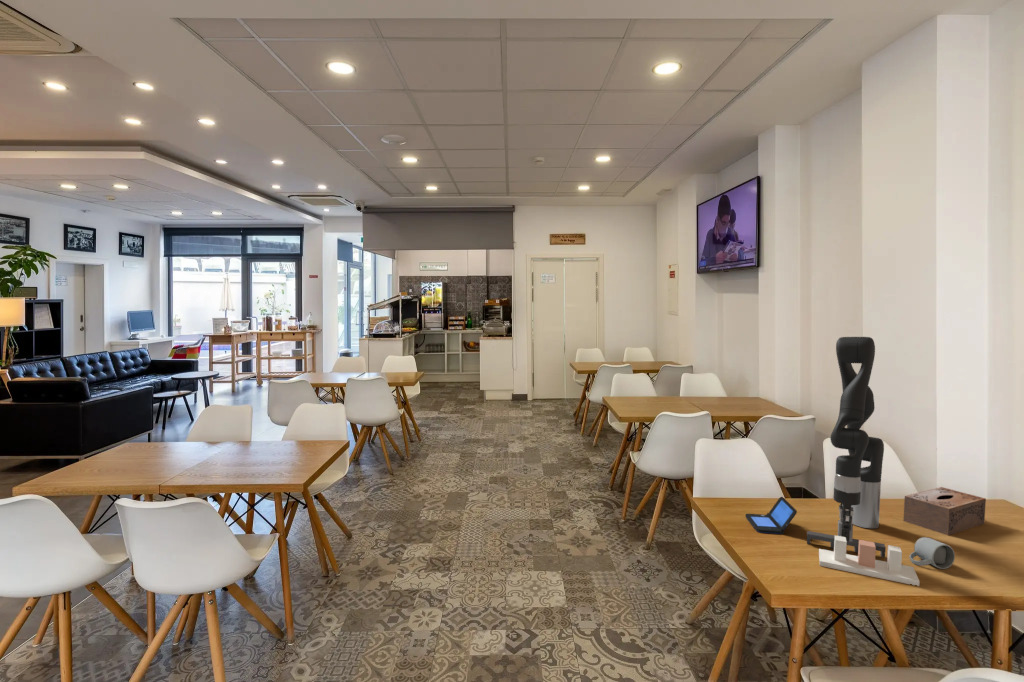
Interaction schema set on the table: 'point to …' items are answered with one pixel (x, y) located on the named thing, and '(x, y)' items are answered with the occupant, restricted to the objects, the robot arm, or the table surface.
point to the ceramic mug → (933, 553)
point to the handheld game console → (773, 518)
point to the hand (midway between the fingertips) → (844, 538)
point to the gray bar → (831, 538)
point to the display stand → (868, 562)
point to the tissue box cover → (944, 510)
